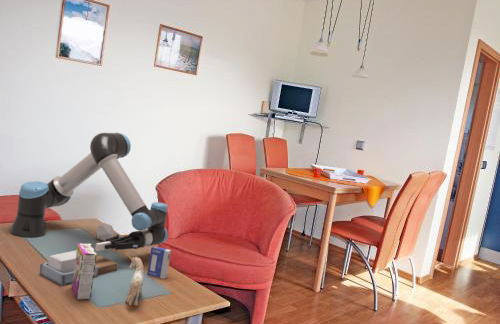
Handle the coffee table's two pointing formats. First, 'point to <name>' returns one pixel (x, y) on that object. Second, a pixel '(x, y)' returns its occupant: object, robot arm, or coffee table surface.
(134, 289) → the unicorn figurine
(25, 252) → the coffee table surface
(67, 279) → the tray
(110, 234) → the die
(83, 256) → the candy bar box
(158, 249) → the walkman
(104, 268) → the walnut board
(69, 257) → the supplement box
